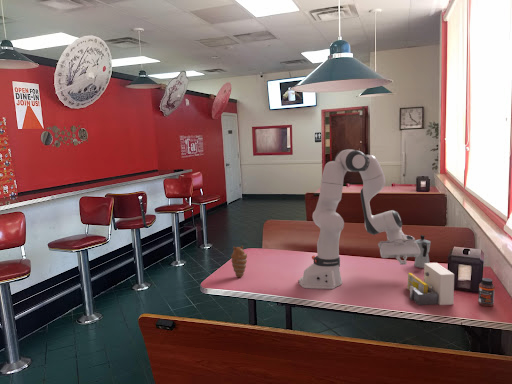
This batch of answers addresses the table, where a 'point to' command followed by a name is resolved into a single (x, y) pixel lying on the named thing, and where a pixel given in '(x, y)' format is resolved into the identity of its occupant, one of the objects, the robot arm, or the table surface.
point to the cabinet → (440, 282)
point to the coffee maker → (422, 252)
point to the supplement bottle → (486, 292)
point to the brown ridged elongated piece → (239, 261)
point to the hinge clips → (423, 296)
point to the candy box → (417, 283)
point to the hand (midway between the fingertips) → (403, 264)
